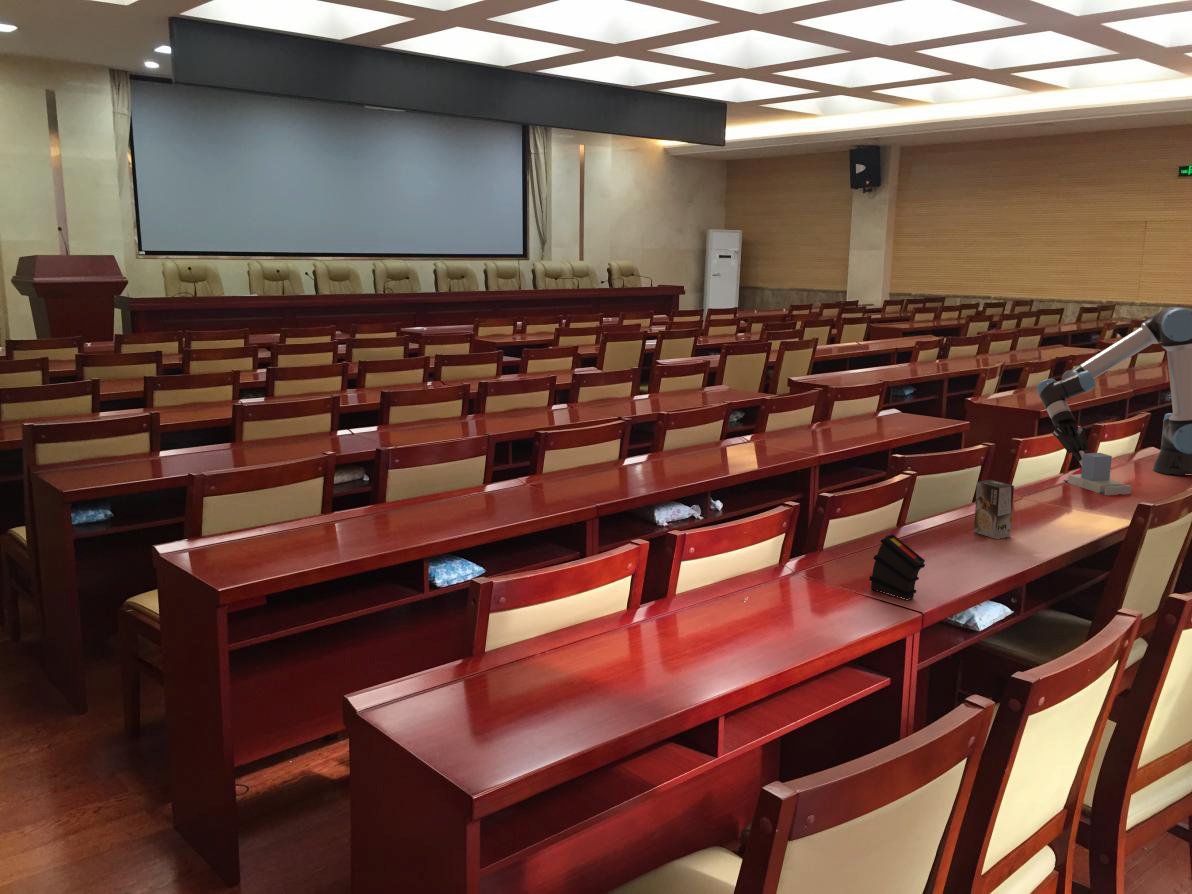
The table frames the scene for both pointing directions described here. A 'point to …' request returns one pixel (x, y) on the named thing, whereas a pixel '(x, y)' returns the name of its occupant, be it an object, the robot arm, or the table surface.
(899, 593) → the magazine
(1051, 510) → the table surface
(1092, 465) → the block
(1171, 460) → the robot arm
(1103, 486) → the trap deck
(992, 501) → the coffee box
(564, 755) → the table surface
